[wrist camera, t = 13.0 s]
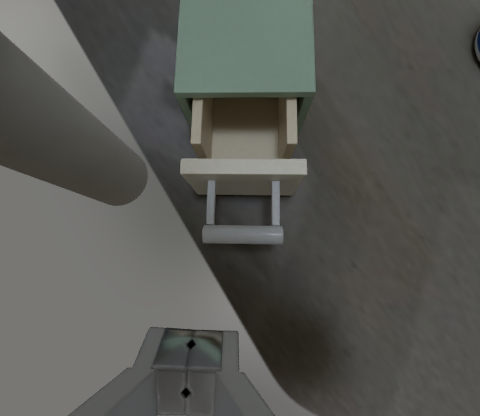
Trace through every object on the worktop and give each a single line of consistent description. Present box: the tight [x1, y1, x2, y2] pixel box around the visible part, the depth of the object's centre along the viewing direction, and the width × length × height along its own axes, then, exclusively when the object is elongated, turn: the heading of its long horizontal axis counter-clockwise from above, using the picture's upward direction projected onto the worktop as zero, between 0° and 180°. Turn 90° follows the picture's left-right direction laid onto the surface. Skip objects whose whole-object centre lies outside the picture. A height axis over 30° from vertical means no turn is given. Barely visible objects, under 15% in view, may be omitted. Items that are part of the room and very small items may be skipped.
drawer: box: [180, 97, 307, 245], centre depth 23 cm, size 16×9×7 cm, turn 179°
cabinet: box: [174, 0, 316, 137], centre depth 25 cm, size 12×10×8 cm
